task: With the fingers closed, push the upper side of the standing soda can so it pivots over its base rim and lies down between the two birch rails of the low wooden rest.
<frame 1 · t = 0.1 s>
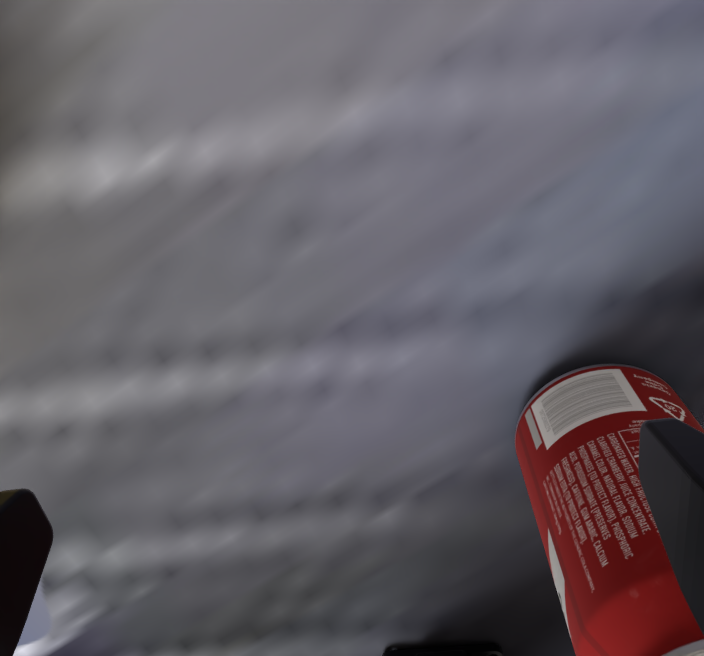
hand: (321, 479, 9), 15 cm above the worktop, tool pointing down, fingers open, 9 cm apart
soda can: (590, 420, 26), on the worktop
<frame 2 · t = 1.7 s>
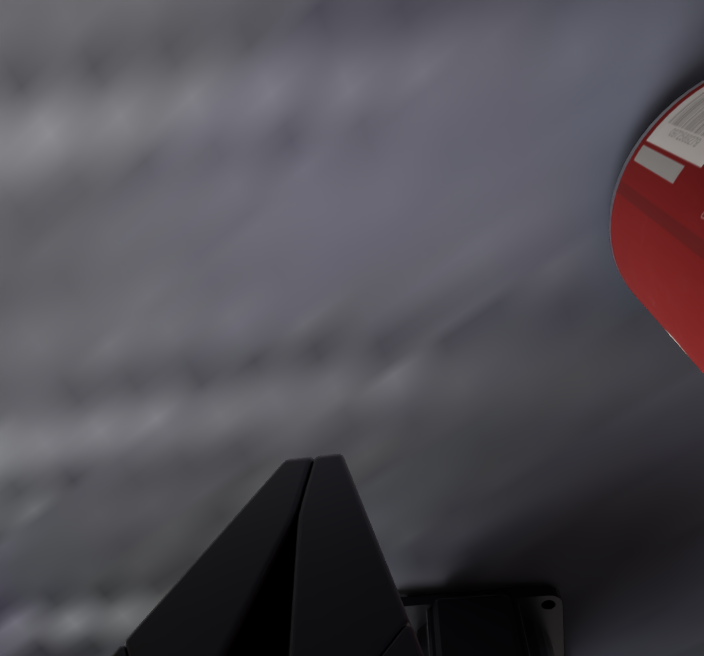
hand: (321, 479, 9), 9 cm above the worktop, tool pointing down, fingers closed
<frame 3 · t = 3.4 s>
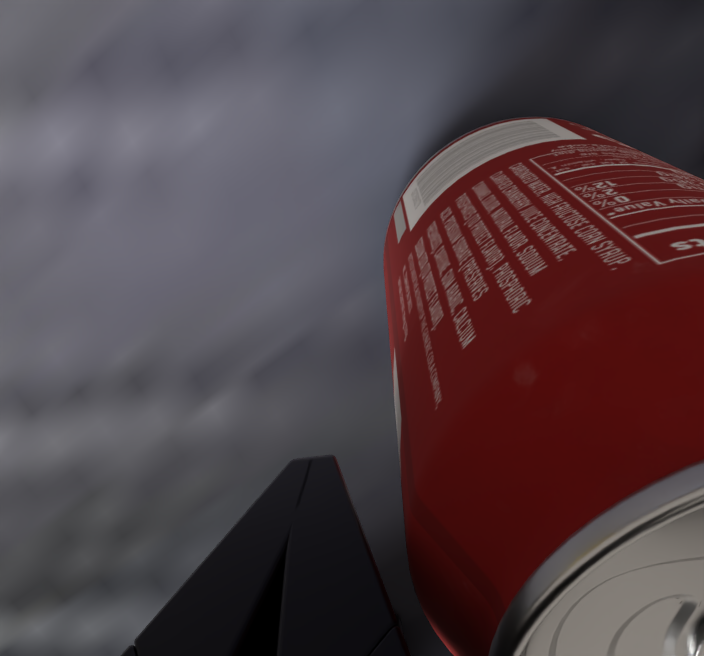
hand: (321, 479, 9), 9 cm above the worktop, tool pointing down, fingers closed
soda can: (508, 244, 16), on the worktop, touching gripper
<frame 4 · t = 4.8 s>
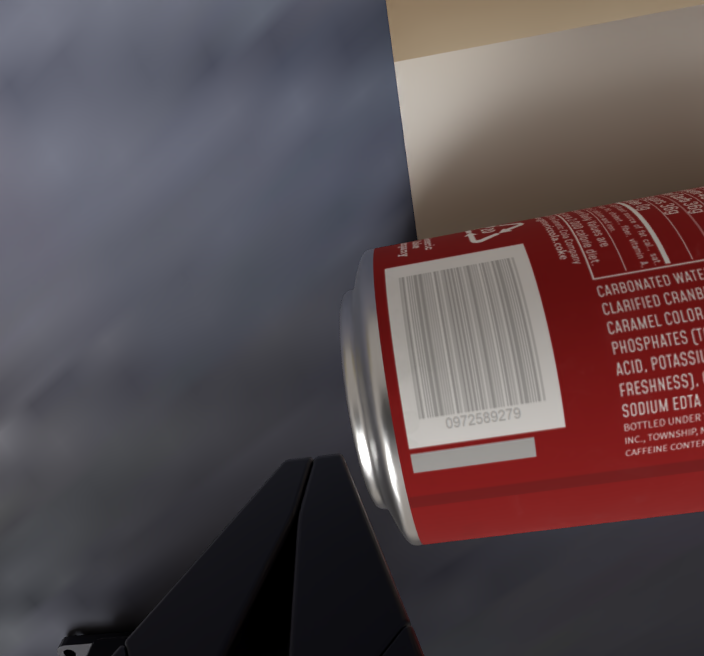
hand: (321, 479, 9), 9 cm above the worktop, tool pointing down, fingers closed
soda can: (354, 399, 14), point 3 cm above the worktop, touching rest
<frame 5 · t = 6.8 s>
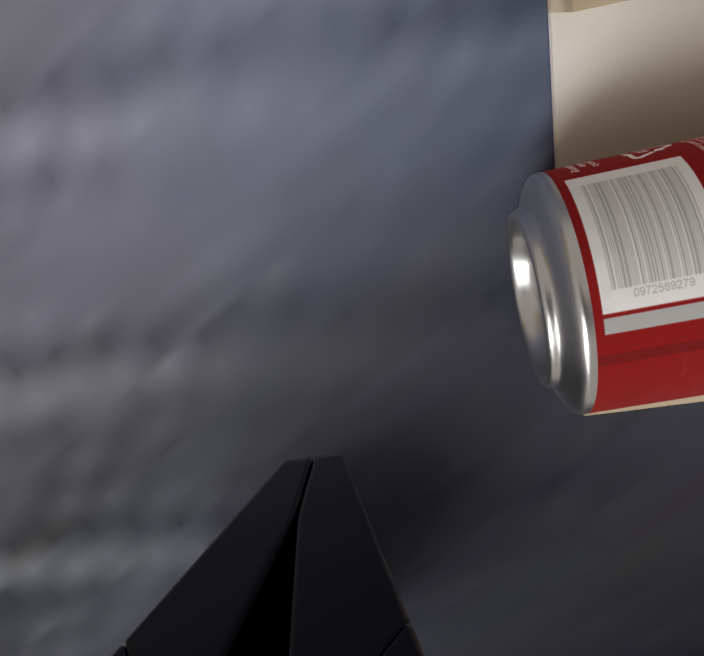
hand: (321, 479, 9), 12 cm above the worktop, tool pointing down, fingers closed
soda can: (518, 301, 17), point 3 cm above the worktop, touching rest
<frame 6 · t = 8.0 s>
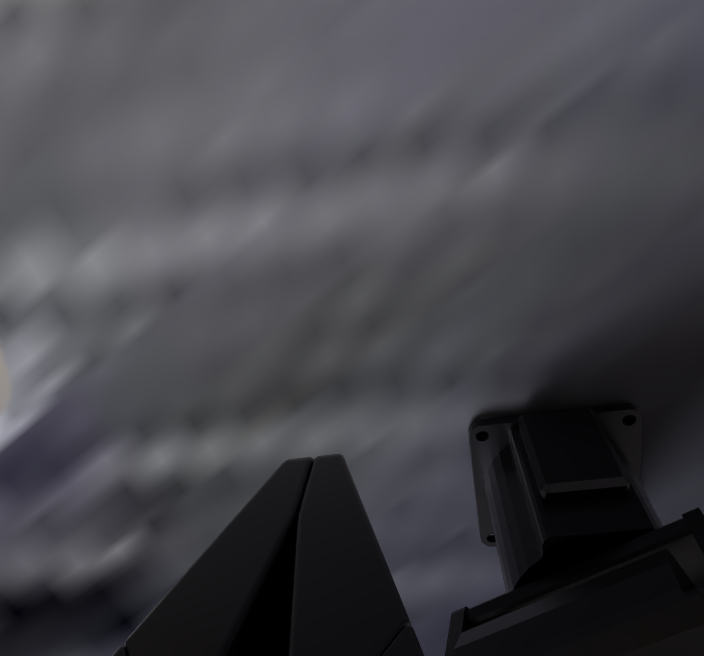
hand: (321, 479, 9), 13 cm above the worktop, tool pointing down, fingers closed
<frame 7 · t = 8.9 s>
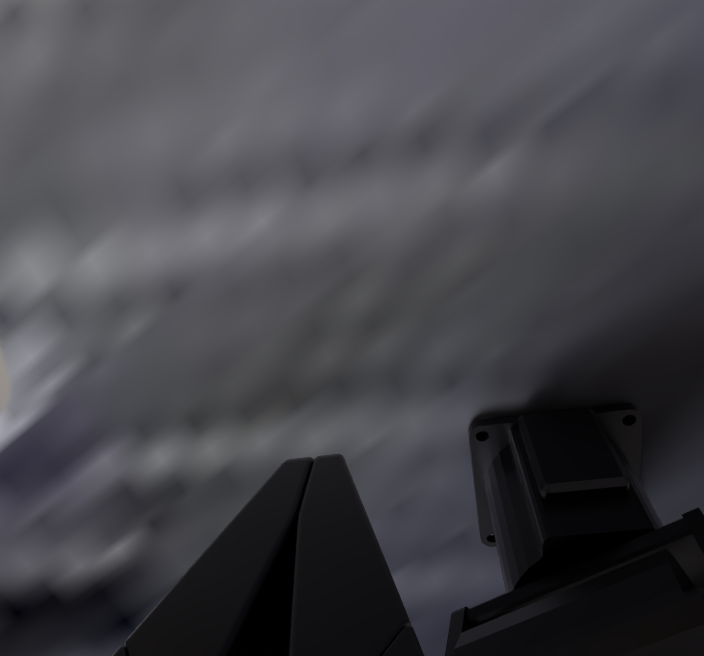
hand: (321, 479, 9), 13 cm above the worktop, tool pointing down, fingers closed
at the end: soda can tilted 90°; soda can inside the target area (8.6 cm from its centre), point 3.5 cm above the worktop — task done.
